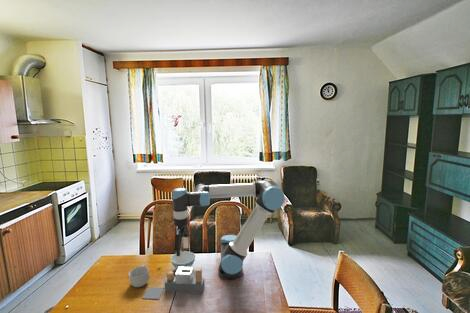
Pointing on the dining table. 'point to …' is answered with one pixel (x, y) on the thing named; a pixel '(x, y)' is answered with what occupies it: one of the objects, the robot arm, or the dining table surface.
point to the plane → (195, 285)
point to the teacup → (139, 276)
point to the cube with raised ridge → (184, 275)
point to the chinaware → (183, 259)
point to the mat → (153, 293)
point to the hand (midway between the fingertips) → (182, 254)
